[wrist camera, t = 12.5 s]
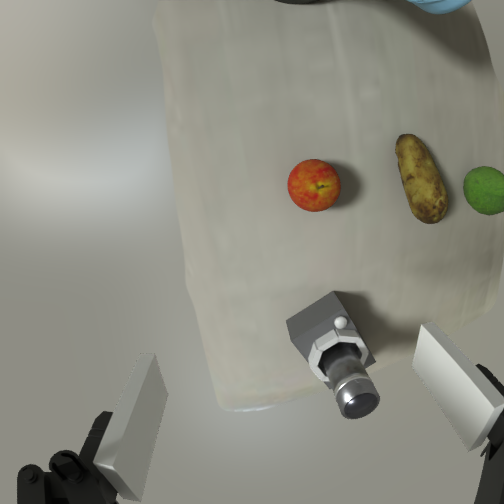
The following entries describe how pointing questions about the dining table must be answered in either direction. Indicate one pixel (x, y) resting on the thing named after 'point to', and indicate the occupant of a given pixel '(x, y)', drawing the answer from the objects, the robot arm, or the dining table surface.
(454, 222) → the dining table surface
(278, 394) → the dining table surface
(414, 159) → the potato
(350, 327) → the grey block
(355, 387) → the lens
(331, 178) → the fruit
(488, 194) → the fruit
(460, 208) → the dining table surface
